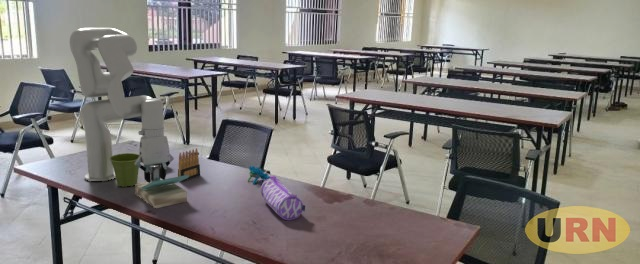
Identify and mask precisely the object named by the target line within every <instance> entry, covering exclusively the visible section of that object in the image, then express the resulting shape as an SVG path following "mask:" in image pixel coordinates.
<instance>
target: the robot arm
mask: <svg viewBox="0 0 640 264" xmlns="http://www.w3.org/2000/svg"><path fill="white" fill-rule="evenodd" d="M69 48H70V51H71V55H72V56H73V59H74V62H75V65H76V69H77V74H78V75H77V77H78V81H79V86H80V91H81V93H82V95H83V96H84V97H85V98H90V99H91V98H92V99H93V98H100V97H107V99H99V100H91V101H89V102H86V103H85V104H83V105H82V107H81V108H80V117H81V119H82V123H83V127H84V134H85V145H86V146H85V147H86V159H87V171H88V172H87V173H86V174H85V175H84V180H85V179H86V180H85V181H87V180H88V182H91V181H102V182H108V180H109V181H112V180H115V179H116V176H115V172H114V168H113V165H112V162H111V160H110V157H111V156H114V155H113V142H112V133H111V132H110V130H109V129H108V127H107V126H106V125H107V124H110V123H111V124H112V123H116V122H120V121H123V120H127V119H132V118H137V117H141V130H139V131H138V135H139V136H141V137H140V139H139V146H138V147H139V149H138V151H139V152H138V154H139V157H138V159H137V160H136V162H135V165H136V166H137V167H139V169H140V170H142V171H143V172H144V174H143V175H144V181H145V182H148V183H150V182H151V171H150V169H151V167H150V165H153V164H159V163H160V165H161V167H160V179H163V180H164V179H166V177H167V169H168V166H169V165H170V164H171V163H172V162H173V160H174V159H175V158H174V156H173V155H172V154H171V153H170V147H169V141H168V137H167V134H165V131H164V130H165V127H164V126H165V125H164V122H165V121H164V106H163V105H164V104H163V101H162V99H160V98H157V97H156V98H155V97H154V98H153V97H152V96H149V95H145V94H143V95H136V96H128V97H127V96H126V97H125V93H124V87H123V83H122V82H123V81H124V80H127V79H128V78H130V76H131V75H132V74H133V73H134V69H135V68H134V67H133V64H132V62H131V61H130V58H129V57H133V56H134V55H135V54H136V53H137V50H138V44H137V42H136V41H135V38H134V37H133V36H131V35H130V34H128V33H126V32H124V31H121V30H119V29H116V28H114V27H113V28H112V27H83V28H79V29H78V28H77V29H76V30H74V31H72V32H71V34H70V37H69ZM93 51H98V52H99V55H100V56H101V58H102V60H103V62H104V64H105V66H106V68H107V71H106V72H103V71H102V69H101V63H100V60H99V58H98V57H97V56H96V55H95V53H93ZM142 164H143V165H142ZM114 178H115V179H114ZM111 179H112V180H111Z"/></svg>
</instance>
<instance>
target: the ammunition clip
mask: <svg viewBox="0 0 640 264" xmlns="http://www.w3.org/2000/svg"><path fill="white" fill-rule="evenodd" d="M184 175H188V177H189V178H186V179H184V180H182V181H180V182H179V183H183V182H186V181H189V180H192V179H195V178H198V177H201V166H200V161H199V152H198V148H195V150H194V148H193V149H192V150H191V149H189V152H188V151H187V150H186V151H185V152H184V151H182V152H179V155H178V169H177V177H179V176H184Z"/></svg>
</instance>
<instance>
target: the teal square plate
mask: <svg viewBox="0 0 640 264" xmlns="http://www.w3.org/2000/svg"><path fill="white" fill-rule="evenodd" d="M186 178H189V177H188V175H184V176H179V177H178V176H175V177H169V178H165V179H164V180H158V181H153V182H151V183H149V184H147V185H145V186H143V187H141V188H142V190H145V189H150V188H155V187H160V186H165V185H170V184H177V183H181V182H180V181H182V180H184V179H186Z"/></svg>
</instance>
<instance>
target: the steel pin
mask: <svg viewBox="0 0 640 264" xmlns="http://www.w3.org/2000/svg"><path fill="white" fill-rule="evenodd" d="M160 168H161V167H160V166H158V165H154V166H151V167H150V176H151V182H153V181H158V180H160V179H161V178H160Z"/></svg>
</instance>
